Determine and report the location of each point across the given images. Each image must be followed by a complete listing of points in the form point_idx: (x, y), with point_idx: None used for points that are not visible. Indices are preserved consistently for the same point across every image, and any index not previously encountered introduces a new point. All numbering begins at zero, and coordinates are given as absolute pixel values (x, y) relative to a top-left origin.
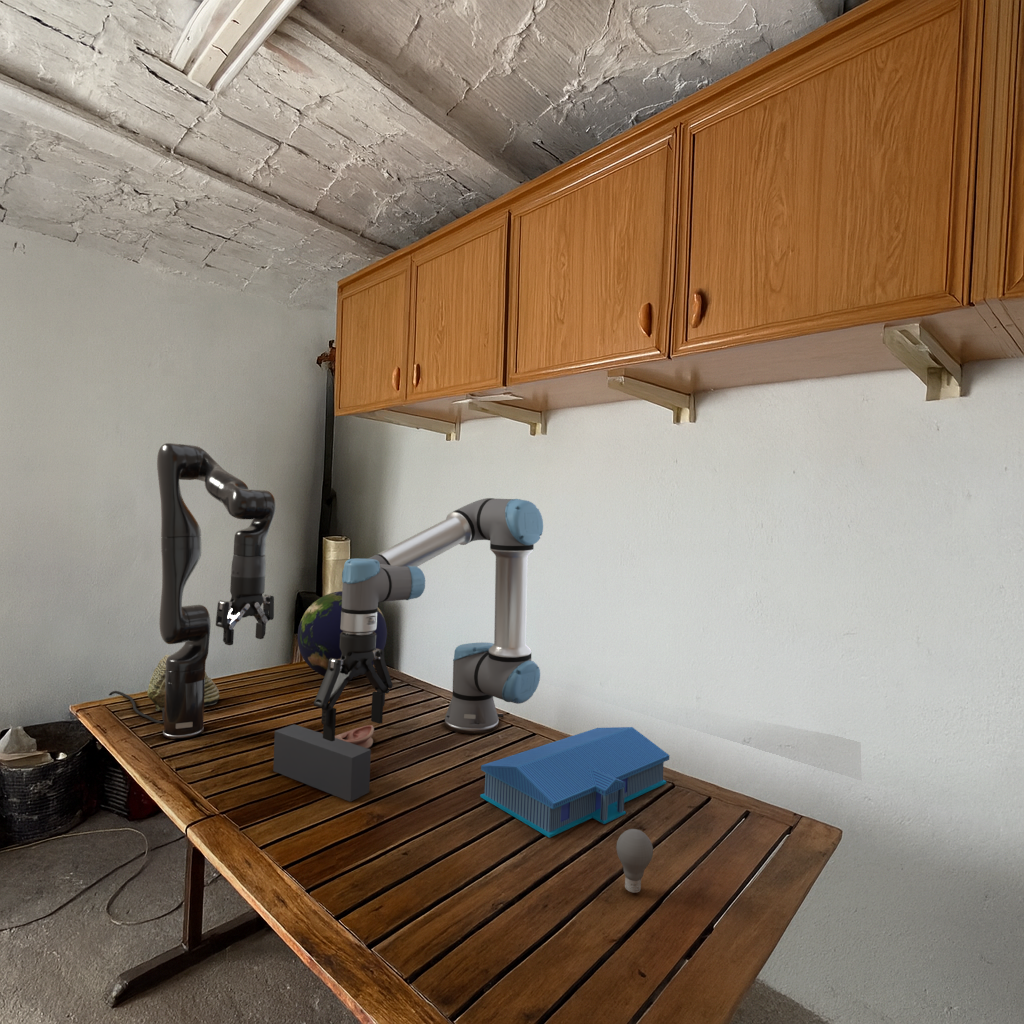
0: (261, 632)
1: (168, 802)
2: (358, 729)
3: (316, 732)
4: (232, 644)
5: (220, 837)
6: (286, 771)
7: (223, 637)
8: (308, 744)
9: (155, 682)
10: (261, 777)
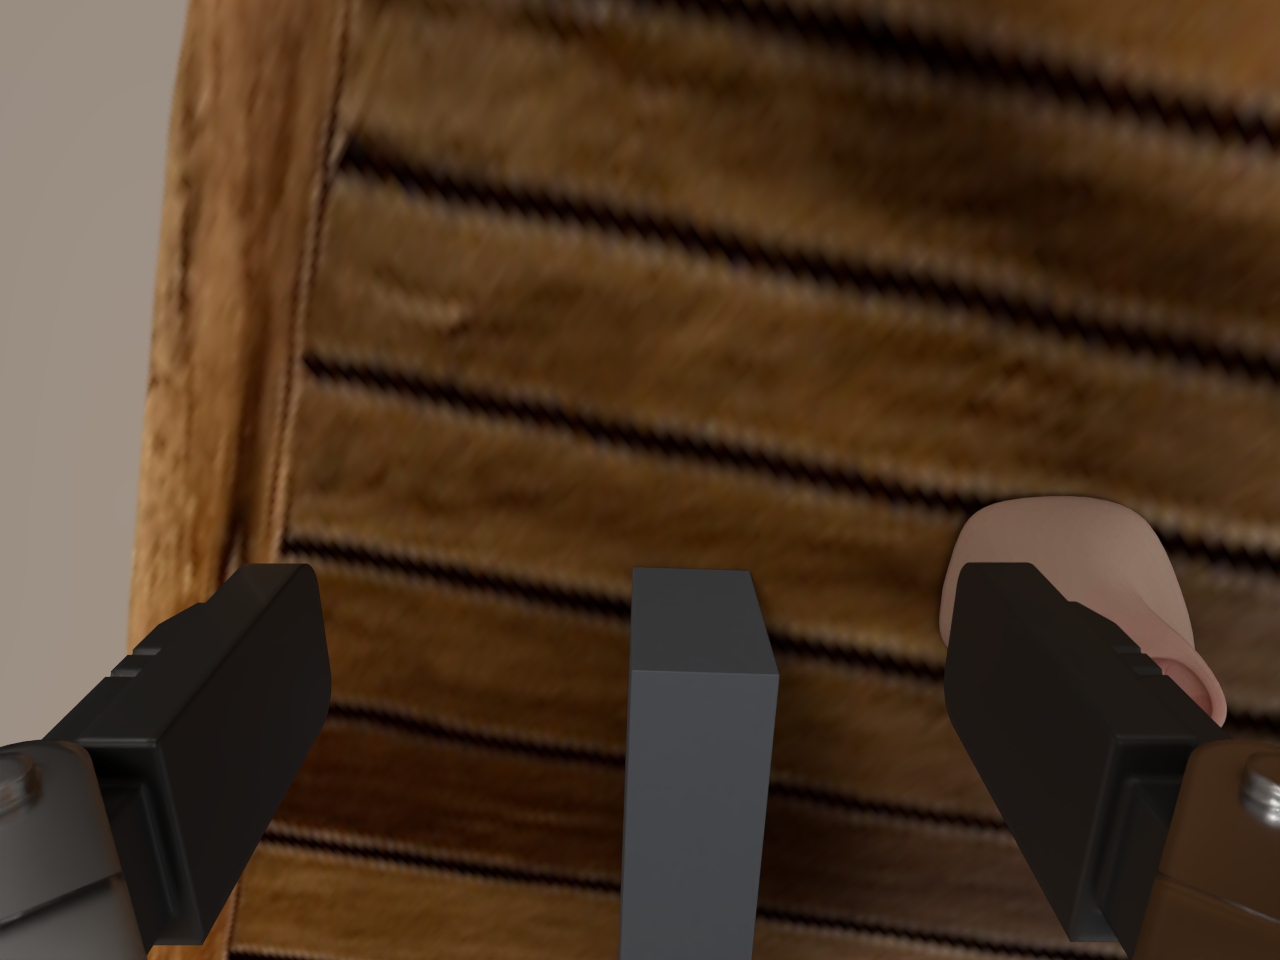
0: (989, 784)
1: (152, 461)
2: (1174, 659)
3: (751, 852)
4: (324, 702)
5: None
6: (629, 663)
7: (131, 660)
8: (622, 904)
9: None
10: (557, 575)
